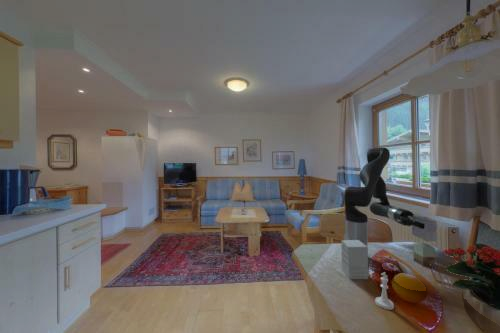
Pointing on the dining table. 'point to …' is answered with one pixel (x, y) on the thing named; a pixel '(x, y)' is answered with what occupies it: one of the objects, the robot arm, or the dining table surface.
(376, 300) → the chess piece
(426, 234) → the medicine box
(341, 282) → the dining table surface
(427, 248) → the tower top block
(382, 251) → the dining table surface
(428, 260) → the tower base block
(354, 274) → the supplement box
